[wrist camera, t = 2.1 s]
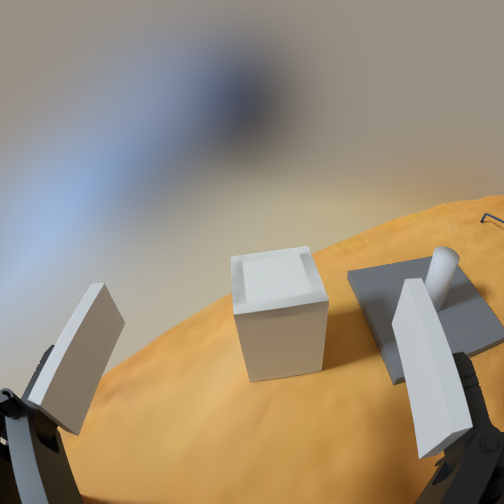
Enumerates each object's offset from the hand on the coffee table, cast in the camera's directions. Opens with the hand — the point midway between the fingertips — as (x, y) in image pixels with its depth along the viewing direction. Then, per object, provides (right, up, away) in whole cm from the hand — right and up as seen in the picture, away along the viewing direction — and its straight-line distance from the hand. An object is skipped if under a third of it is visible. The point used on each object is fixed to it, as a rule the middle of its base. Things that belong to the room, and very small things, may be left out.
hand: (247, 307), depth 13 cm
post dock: (+21, -5, +19) cm, 28 cm away
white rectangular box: (+3, -8, +18) cm, 20 cm away
